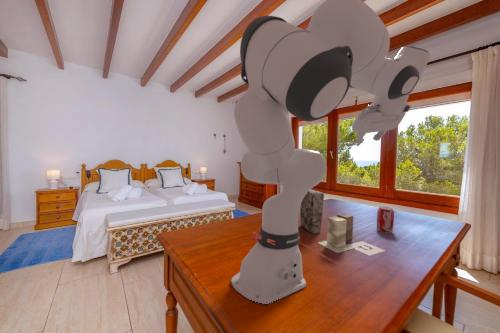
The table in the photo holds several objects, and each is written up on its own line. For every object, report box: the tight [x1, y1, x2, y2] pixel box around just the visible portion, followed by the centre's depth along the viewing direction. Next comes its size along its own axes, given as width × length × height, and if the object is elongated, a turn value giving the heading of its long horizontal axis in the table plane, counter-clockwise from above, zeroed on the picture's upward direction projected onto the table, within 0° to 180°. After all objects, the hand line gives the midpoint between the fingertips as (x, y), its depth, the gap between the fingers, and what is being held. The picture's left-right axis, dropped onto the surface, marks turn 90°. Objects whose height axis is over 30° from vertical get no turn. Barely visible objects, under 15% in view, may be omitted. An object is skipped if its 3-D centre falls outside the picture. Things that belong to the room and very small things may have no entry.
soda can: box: [376, 206, 395, 234], centre depth 105 cm, size 7×7×12 cm
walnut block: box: [336, 212, 354, 242], centre depth 94 cm, size 5×5×11 cm
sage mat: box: [317, 240, 355, 254], centre depth 86 cm, size 10×10×1 cm
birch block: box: [326, 215, 347, 249], centre depth 85 cm, size 5×5×11 cm
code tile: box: [348, 240, 386, 256], centre depth 84 cm, size 10×10×1 cm
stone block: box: [299, 189, 325, 234], centre depth 106 cm, size 13×7×20 cm, turn 20°
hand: (367, 141), depth 76 cm, fingers open, 8 cm apart
